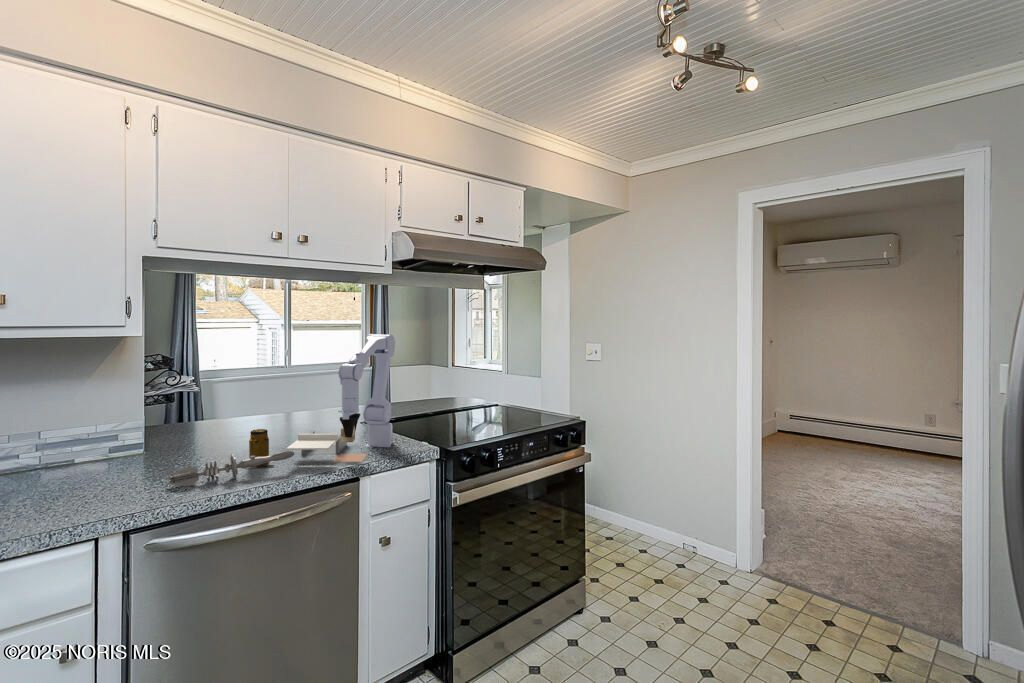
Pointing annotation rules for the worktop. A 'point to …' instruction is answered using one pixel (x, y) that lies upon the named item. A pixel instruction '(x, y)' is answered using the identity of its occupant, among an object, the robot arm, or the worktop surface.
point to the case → (332, 450)
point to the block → (347, 439)
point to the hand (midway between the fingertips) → (350, 435)
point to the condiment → (259, 445)
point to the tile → (350, 458)
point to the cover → (313, 442)
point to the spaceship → (222, 468)
